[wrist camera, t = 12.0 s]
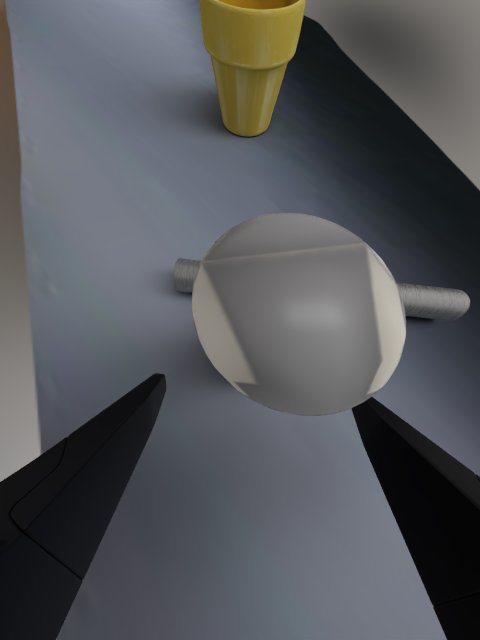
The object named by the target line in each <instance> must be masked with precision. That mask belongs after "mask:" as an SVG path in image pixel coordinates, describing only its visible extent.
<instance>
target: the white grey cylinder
mask: <svg viewBox="0 0 480 640" xmlns="http://www.w3.org/2000/svg"><path fill="white" fill-rule="evenodd" d="M192 313H193V319H194V325H195V328H196V332H197V335H198V338H199V341H200V343H201V345H202V347H203V349H204V351H205V353H206V355H207V356H208V358H209V359H210V361H211V362H212V364H213V365H214V367H215V368H216V369H217V370H218V372H219V373H220V374H221V375H222V376H223V377H224V378H225V379H226V380H227V381H228V382H229V383H230V384H231V385H232V386H234V387H235V388H236V389H237V390H238V391H240V392H241V393H243V394H244V395H246V396H247V397H249V398H250V399H252V400H253V401H256V402H258V403H260V404H262V405H264V406H266V407H268V408H271V409H275V410H278V411H281V412H284V413H290V414H296V415H304V416H320V415H327V414H334V413H338V412H341V411H345V410H348V409H350V408H352V407H355V406H357V405H359V404H361V403H363V402H364V401H366V400H367V399H369V398H370V397H371V396H373V395H374V394H375V393H377V392H378V391H379V390H380V389H381V388H382V387H383V386H384V385H385V384H386V382H387V381H388V379H389V378H390V377H391V375H392V374H393V372H394V371H395V369H396V367H397V365H398V363H399V361H400V358H401V355H402V351H403V348H404V343H405V337H406V317H405V308H404V304H403V301H402V297H401V294H400V291H399V289H398V286H397V283H396V282H395V280H394V278H393V276H392V274H391V272H390V271H389V269H388V268H387V266H386V265H385V263H384V262H383V261H382V259H381V258H380V257H379V256H378V255H377V254H376V252H375V251H374V250H373V249H372V248H370V247H369V246H368V245H367V244H366V243H365V242H364V241H363V240H361V239H360V238H359V237H357V236H356V235H355V234H353V233H351V232H350V231H348V230H347V229H345V228H343V227H341V226H339V225H337V224H335V223H333V222H330V221H327V220H325V219H322V218H318V217H315V216H311V215H305V214H298V213H275V214H268V215H263V216H259V217H255V218H252V219H250V220H247V221H245V222H242V223H240V224H239V225H237V226H235V227H233V228H232V229H230V230H229V231H227V232H226V233H225V234H223V235H222V236H221V237H220V238H219V239H218V240H217V241H216V242H215V243H214V244H213V245H212V247H211V248H210V249H209V250H208V252H207V253H206V255H205V257H204V258H203V260H202V262H201V264H200V266H199V269H198V271H197V273H196V277H195V281H194V285H193V293H192Z"/></svg>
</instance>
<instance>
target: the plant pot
mask: <svg viewBox="0 0 480 640" xmlns="http://www.w3.org/2000/svg"><path fill="white" fill-rule="evenodd" d="M305 2H306V0H199V3H200V15H201V25H202V33H203V41H204V46H205V48H206V50H207V52H208V53H209V54H210V56H211V61H212V66H213V71H214V76H215V81H216V87H217V92H218V97H219V103H220V108H221V113H222V119H223V123H224V125H225V127H226V128H227V129H228V130H229V131H231V132H232V133H234V134H236V135H240V136H246V137H250V136H257V135H259V134H261V133H263V132H264V131H266V129H267V128H268V126H269V123H270V120H271V116H272V113H273V109H274V106H275V103H276V99H277V96H278V93H279V89H280V86H281V83H282V79H283V76H284V73H285V69H286V66H287V63H288V61H290V60H291V59H292V57H293V56H294V54H295V51H296V47H297V43H298V39H299V34H300V29H301V24H302V19H303V13H304V7H305Z"/></svg>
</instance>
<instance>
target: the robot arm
mask: <svg viewBox="0 0 480 640" xmlns="http://www.w3.org/2000/svg"><path fill="white" fill-rule="evenodd" d="M165 392H166V379H165V375H164V374H159V373H155V374H153V375H152V376H151V377H149V378H148V379H146V380H145V381H144V382H142V383H141V384H139V385H138V386H137V387H135V388H134V389H133V390H131V391H130V392H128V393H127V394H126V395H124V396H123V397H121V398H120V399H119V400H117V401H116V402H114V403H113V404H112V405H110V406H109V407H108V408H106V409H105V410H103V411H102V412H101V413H99V414H98V415H96V416H95V417H94V418H92V419H91V420H89V421H88V422H87V423H85V424H84V425H83V426H81V427H80V428H78V429H77V430H76V431H74V432H73V433H71V434H70V435H69V436H68V437H66V438H64V439H63V440H62V441H60V442H59V443H57V444H56V445H55V446H53V447H52V448H50V449H49V450H47V451H46V452H45V453H43V454H42V455H40V456H39V457H38V458H36V459H35V460H33V461H32V462H30V463H29V464H27V465H26V466H24V467H23V468H21V469H20V470H18V471H17V472H15V473H14V474H12V475H11V476H9V477H7V478H6V479H4V480H3V481H1V482H0V640H56V638H57V636H58V634H59V631H60V629H61V627H62V625H63V623H64V621H65V618H66V616H67V614H68V612H69V610H70V608H71V605H72V603H73V601H74V599H75V597H76V595H77V592H78V590H79V588H80V586H81V584H82V580H83V579H84V577H85V575H86V572H87V570H88V568H89V566H90V564H91V562H92V559H93V557H94V555H95V553H96V551H97V549H98V546H99V544H100V542H101V540H102V538H103V536H104V533H105V531H106V529H107V527H108V525H109V523H110V520H111V518H112V516H113V514H114V512H115V510H116V507H117V505H118V503H119V501H120V499H121V497H122V494H123V492H124V490H125V488H126V486H127V483H128V481H129V479H130V477H131V475H132V473H133V470H134V468H135V466H136V464H137V462H138V460H139V457H140V455H141V453H142V451H143V449H144V447H145V444H146V442H147V440H148V438H149V436H150V434H151V431H152V429H153V427H154V424H155V421H156V419H157V416H158V413H159V410H160V407H161V404H162V401H163V398H164V395H165ZM352 412H353V415H354V418H355V421H356V424H357V427H358V430H359V433H360V436H361V439H362V442H363V445H364V447H365V450H366V452H367V455H368V457H369V459H370V462H371V464H372V466H373V468H374V471H375V473H376V475H377V478H378V480H379V482H380V485H381V487H382V489H383V492H384V494H385V496H386V499H387V501H388V503H389V506H390V508H391V510H392V513H393V515H394V517H395V519H396V522H397V524H398V526H399V529H400V531H401V533H402V536H403V538H404V540H405V543H406V545H407V547H408V550H409V552H410V554H411V557H412V559H413V561H414V564H415V566H416V568H417V570H418V573H419V575H420V577H421V580H422V582H423V584H424V587H425V589H426V591H427V594H428V596H429V598H430V601H431V603H432V605H433V608H434V610H435V613H436V615H437V617H438V620H439V622H440V624H441V627H442V629H443V631H444V633H445V636H446V638H447V640H480V477H479V476H478V475H475V474H474V472H472V471H471V470H470V469H468V468H467V467H466V466H464V465H463V464H462V463H460V462H459V461H458V460H456V459H455V458H454V457H452V456H451V455H450V454H448V453H447V452H446V451H444V450H443V449H442V448H440V447H439V446H437V445H436V444H435V443H433V442H432V441H431V440H429V439H428V438H427V437H425V436H424V435H423V434H421V433H420V432H419V431H417V430H416V429H415V428H413V427H412V426H411V425H409V424H408V423H407V422H405V421H404V420H402V419H401V418H400V417H398V416H397V415H396V414H394V413H393V412H392V411H390V410H389V409H388V408H386V407H385V406H384V405H382V404H381V403H380V402H378V401H377V400H376V399H374V398H373V397H372V396H371V397H370V398H369V399H367V400H366V401H364V402H363V403H361V404H359V405H357V406H355V407H352Z"/></svg>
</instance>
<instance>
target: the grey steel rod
mask: <svg viewBox="0 0 480 640" xmlns="http://www.w3.org/2000/svg"><path fill="white" fill-rule="evenodd" d="M201 262H202V261H200V260H191V259H182V258H179V259H178V260H177V262H176V264H175V269H174V283H175V287H176V290H177V291H179V292H189V293H193V285H194V281H195V277H196V273H197V271H198V269H199V266H200V264H201ZM397 286H398V289H399V291H400V294H401V297H402V301H403V304H404V308H405V316H411V317H420V318H429V319H439V320H454V319H457V318H459V317H461V316H462V315H464V314H465V313H466V311H467V310H468V308H469V304H470V300H469V297H468V295H467V294H466V293H465V292H463V291H461V290H457V289H448V288H439V287H430V286H422V285H413V284H404V283H397Z"/></svg>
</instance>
